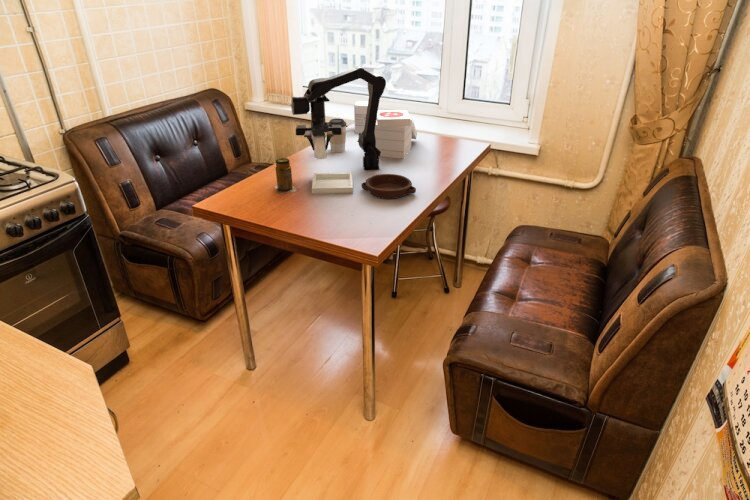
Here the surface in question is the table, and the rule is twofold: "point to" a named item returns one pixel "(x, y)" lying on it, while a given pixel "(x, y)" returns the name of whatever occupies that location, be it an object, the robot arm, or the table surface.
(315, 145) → the jar
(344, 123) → the coffee cup
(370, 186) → the dish
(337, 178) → the tray
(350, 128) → the table surface
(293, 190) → the condiment
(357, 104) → the supplement box
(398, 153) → the pizza boxes
